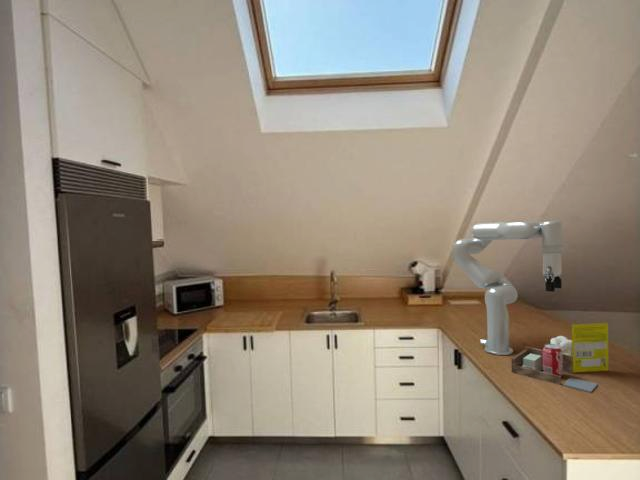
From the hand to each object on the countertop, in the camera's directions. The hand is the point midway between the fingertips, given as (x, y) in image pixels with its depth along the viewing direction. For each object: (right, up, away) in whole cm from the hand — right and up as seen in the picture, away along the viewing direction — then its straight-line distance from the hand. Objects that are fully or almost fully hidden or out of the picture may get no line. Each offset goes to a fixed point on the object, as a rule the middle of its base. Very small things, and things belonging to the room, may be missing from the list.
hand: (553, 289), depth 163 cm
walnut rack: (-8, -34, -5) cm, 35 cm away
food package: (+12, -34, -5) cm, 36 cm away
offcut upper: (-10, -31, -2) cm, 33 cm away
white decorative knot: (+12, -33, +11) cm, 37 cm away
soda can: (-5, -34, -7) cm, 35 cm away
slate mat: (-1, -34, -18) cm, 39 cm away
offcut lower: (-10, -34, -2) cm, 36 cm away
